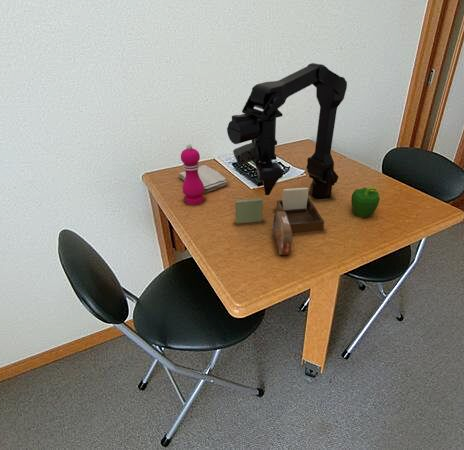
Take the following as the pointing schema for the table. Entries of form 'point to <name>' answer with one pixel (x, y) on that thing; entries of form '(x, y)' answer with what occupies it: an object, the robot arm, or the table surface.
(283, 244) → the tin
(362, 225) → the table surface
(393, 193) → the table surface
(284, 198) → the cream coaster
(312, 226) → the coaster holder
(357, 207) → the bell pepper
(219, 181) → the washcloth
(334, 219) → the table surface
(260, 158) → the robot arm
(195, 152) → the pepper mill
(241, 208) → the sage coaster
